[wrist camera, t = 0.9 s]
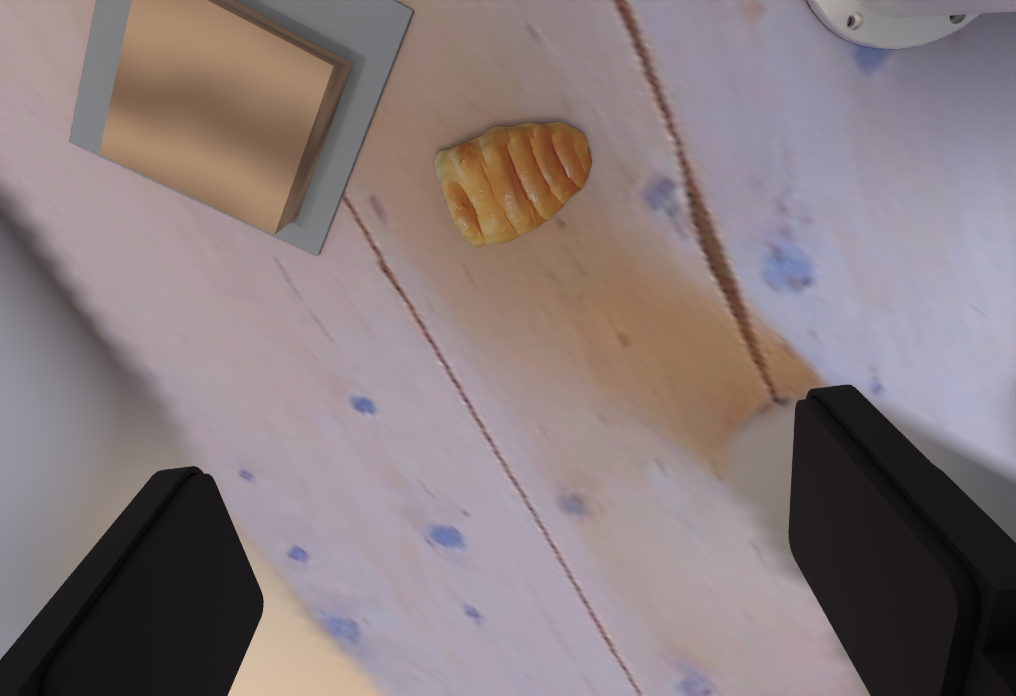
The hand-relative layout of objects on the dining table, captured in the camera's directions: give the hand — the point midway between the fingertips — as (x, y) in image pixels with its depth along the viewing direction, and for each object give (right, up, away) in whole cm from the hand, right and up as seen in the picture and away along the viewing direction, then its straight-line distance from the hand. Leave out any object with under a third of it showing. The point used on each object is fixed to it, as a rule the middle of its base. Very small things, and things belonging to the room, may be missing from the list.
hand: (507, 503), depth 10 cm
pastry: (0, +13, +30) cm, 33 cm away
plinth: (-16, +17, +28) cm, 36 cm away
